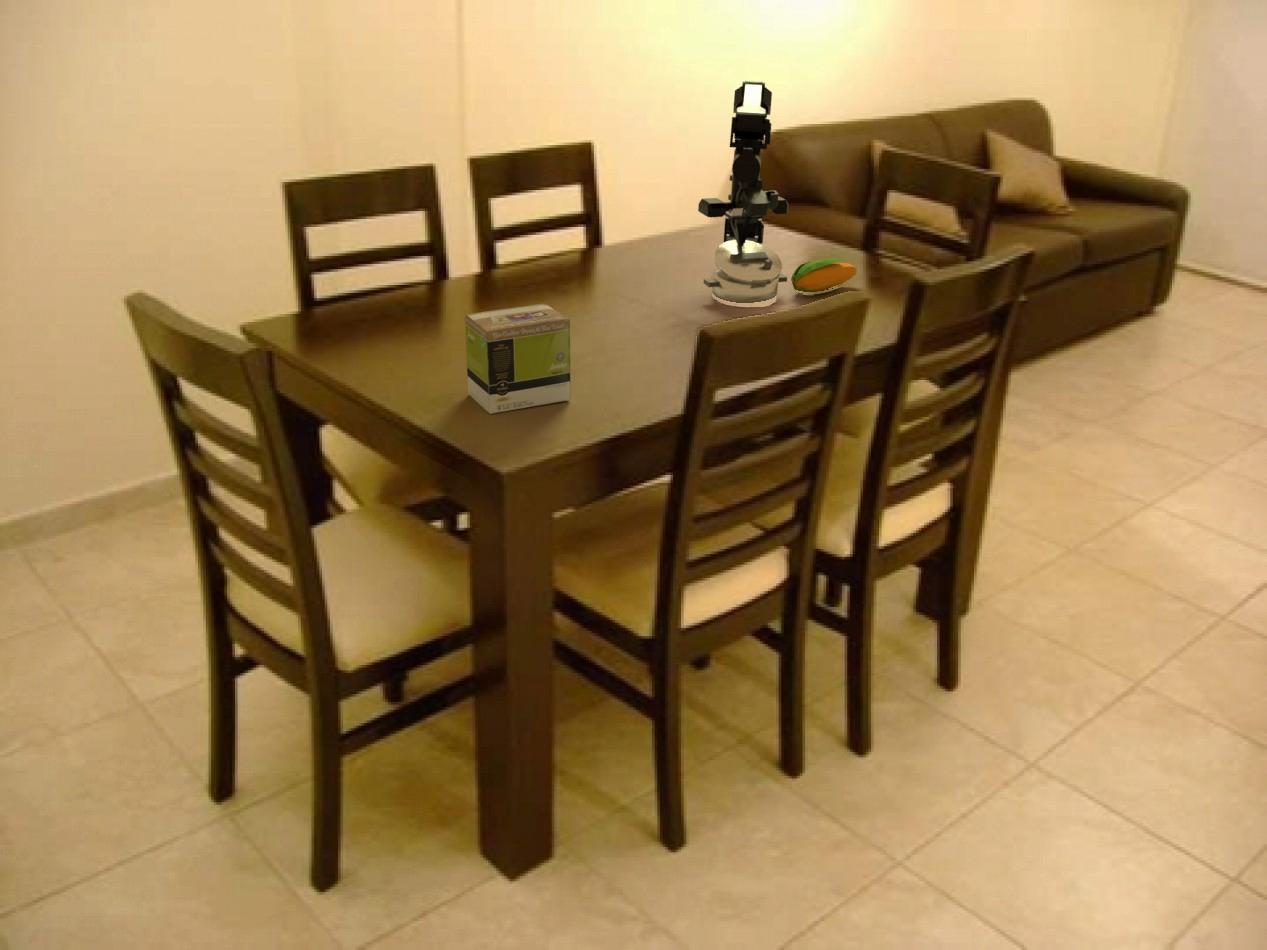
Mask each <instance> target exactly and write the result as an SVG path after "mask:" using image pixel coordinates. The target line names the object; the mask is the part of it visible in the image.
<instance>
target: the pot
mask: <svg viewBox="0 0 1267 950" xmlns="http://www.w3.org/2000/svg"><path fill="white" fill-rule="evenodd" d="M712 274H713V275H712V277H709V278H707V277H706V278H703V284H704V285H705V286H707V287H708V288H712V289H711V294H712V293H713V294H714V295H715V296H716V297H718V298H720V299H723V300H726V301H730V302H736V303H754V302H761V301H766V300H769V299H772V298H774V297H775V296H776V295H777V296H778V292H779V291H778V289H779V288H778V287H779V283H786V282H787V283H788V276H787V275H785V274H783V273H782V272H781V273H780V275H779V277H778V278H777V279H775V280H774V281H772V282H771V283H770V284H762V285H752V284H748V283H743V282H740V281H737V280H734V279H732V278H730V277H728V276H727V275H725V274H724V273H722V272H721V271H720V270H719V269H717V270H714V272H713V273H712Z"/></svg>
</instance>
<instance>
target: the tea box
mask: <svg viewBox="0 0 1267 950" xmlns="http://www.w3.org/2000/svg"><path fill="white" fill-rule="evenodd" d="M464 318H465V319H464V324H465V325H464V326H465V341H466V343H465V344H466V372H467V388H468V390H467V391H468V394H469V395H470V397H471V398H472V399H473V400H474V401H475V402H477V404H478V405H479V406H480V407H481V408H483V409H484V410H485V411H486V412H487V413H488V414H498V413H502V412H508V411H514V410H520V409H525V408H532V407H536V406H537V407H538V406H542V405H549V404H555V403H559V402H561V403H562V402H567V401H571V399H572V398H571V395H572V394H571V387H572V386H571V321H570V318H568V317H567V316H565V315H563V314H561V313H560V312H559V311H557V310H556V309H553V308H552V307H551V306H549V305H548V304H547V303H538V304H536V303H535V304H530V305H524V306H517V307H511V308H501V309H496V310H488V311H487V310H486V311H482V312H475V313H473V312H472V313H467V314H466V313H465V317H464Z"/></svg>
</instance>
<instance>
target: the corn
mask: <svg viewBox="0 0 1267 950" xmlns="http://www.w3.org/2000/svg"><path fill="white" fill-rule="evenodd" d="M843 260H844V259H843V258H841V257H840V258H823V259H819V260H814V261H811V262H810V261H809V262H805V263H802V264H800V265H799V266H797V268H796V269H794V270H793V273H792V276H791V284H792V287H793V289H795V290H798V291H803V292H817V291H824V290H825V289H826V290H829V289H828V288H831V287H833V286H836V285H839V284H842V283H844V282H846V281H847V280H848V281H849V280H851V279H853V277H854V276H856V275H857V271H858V270H857V268H856V267H855V266H854V265H852V264H851V263H849V262H847V263H845V262H844V263H843ZM848 281H847V282H848ZM847 282H846V283H847ZM844 284H845V283H844ZM842 285H843V284H842ZM832 289H833V288H832ZM795 290H794V291H795Z"/></svg>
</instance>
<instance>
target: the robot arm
mask: <svg viewBox="0 0 1267 950" xmlns="http://www.w3.org/2000/svg"><path fill="white" fill-rule="evenodd" d="M733 97H734V98H733V114H735V115H731V116H732V117H731V127H730V128H731V129H730V136H729V137H730V138H729V148H734V150H733V151H734V152H733V161H732V167H731V172H732V174H730V175H729V181H731V189H730V190H731V191H730V192H731V193H730V194H728V197H727V199H728V200H729V201H723V200H721V199H719V198H717V197H708V198H705V197H704V198H701V199H700V201H699V202H698V207H697V208H698V209H697V210H698V212H699V213H700V214H702V215H704V216H706V217H707V218H723V217H724V216H725V218H724V228H723V231H724V232H723V243H724V242H727V241H731V240H736V241H737V244H738V246H743V245H744V243H745V241H746V240H748V241H753V242H757V243H759V244H762V245H763V243H764V230H765V225H764V224H763V221H762V219H763V218H764V217H766V216H767V215H768V213H769V211H770V210H771V211H772V212H773V214H775V215H787V214H788V212H789V202H788V201H787V199H785V198H783V197H781V196H779V193H778V191H777V189H776V190H763V179H760V178H761V177H760V175H761V169H762V168H761V165H762V150H767V149H768V147H767V146H768V145H771V133H772V123H771V119H770V117H768V116H771V110H772V109H771V108H772V97H773V92H772V91H771V90H770V89H768V88H767V86H766V82H763V81H762V80H747V79H746V80H745V81H742V84H741V86H740V87H738V88H736V89H735V90H734V95H733ZM763 142H764V143H763Z"/></svg>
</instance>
